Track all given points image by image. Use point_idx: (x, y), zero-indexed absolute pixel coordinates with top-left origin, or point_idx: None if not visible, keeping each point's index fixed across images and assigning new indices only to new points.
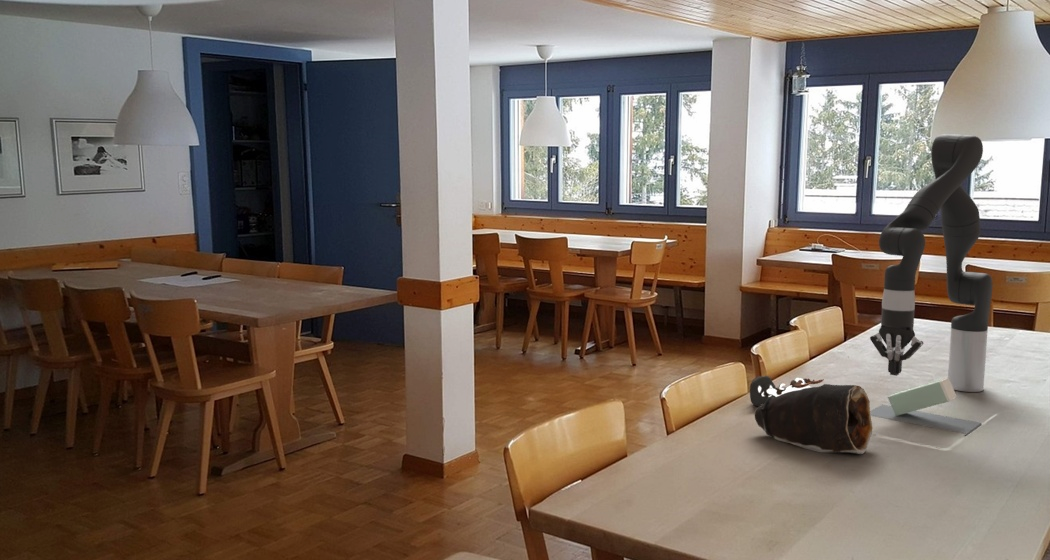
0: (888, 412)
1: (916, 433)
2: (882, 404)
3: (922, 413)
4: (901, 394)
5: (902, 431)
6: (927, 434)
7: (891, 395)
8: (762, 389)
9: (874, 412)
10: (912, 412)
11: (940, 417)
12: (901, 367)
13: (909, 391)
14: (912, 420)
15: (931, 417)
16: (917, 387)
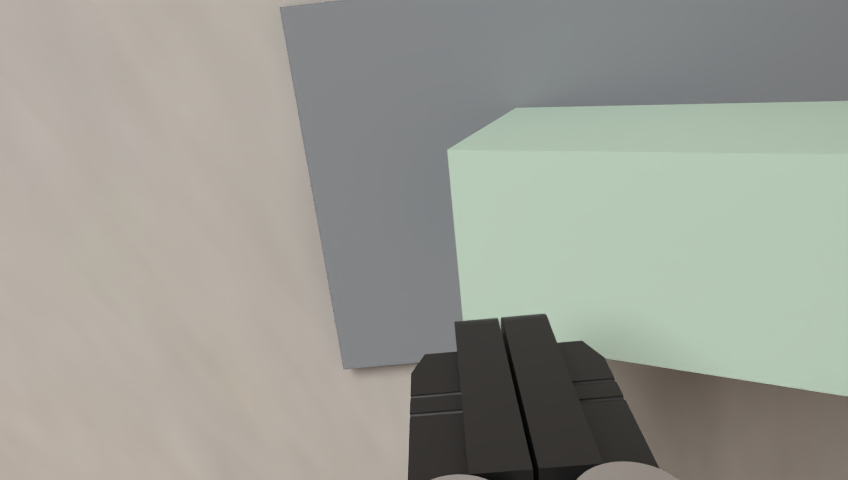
0: (442, 211)
1: (745, 447)
2: (280, 8)
3: (657, 23)
4: (607, 352)
5: (665, 467)
6: (805, 421)
7: (477, 289)
8: None
9: (371, 287)
10: (581, 60)
11: (816, 28)
12: (621, 401)
13: (704, 371)
14: None
15: (753, 88)
16: (776, 270)
